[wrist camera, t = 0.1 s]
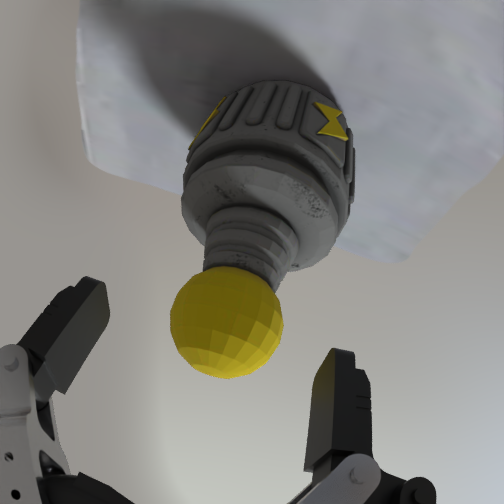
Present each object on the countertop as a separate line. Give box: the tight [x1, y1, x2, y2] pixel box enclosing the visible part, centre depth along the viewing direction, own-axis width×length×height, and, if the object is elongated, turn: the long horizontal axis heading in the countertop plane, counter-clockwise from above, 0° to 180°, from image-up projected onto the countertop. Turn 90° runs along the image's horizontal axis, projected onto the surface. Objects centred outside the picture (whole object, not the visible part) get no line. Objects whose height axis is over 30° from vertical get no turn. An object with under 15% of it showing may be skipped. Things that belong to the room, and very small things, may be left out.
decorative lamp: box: [170, 80, 355, 379], centre depth 32 cm, size 19×19×30 cm
